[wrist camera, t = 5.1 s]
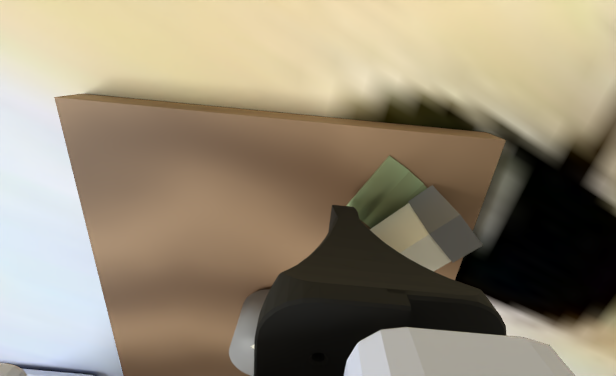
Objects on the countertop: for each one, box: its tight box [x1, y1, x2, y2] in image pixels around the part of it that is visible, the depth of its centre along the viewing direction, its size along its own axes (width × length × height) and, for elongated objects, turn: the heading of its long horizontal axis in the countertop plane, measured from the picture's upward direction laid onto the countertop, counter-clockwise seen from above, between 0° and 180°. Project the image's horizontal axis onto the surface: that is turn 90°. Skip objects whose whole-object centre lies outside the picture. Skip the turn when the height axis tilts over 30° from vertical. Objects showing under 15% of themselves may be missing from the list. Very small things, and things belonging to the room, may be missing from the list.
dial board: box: [54, 94, 506, 376], centre depth 16 cm, size 20×18×2 cm
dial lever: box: [229, 185, 483, 376], centre depth 13 cm, size 12×3×3 cm, turn 131°
